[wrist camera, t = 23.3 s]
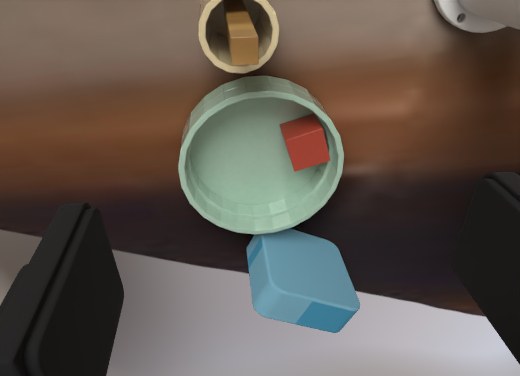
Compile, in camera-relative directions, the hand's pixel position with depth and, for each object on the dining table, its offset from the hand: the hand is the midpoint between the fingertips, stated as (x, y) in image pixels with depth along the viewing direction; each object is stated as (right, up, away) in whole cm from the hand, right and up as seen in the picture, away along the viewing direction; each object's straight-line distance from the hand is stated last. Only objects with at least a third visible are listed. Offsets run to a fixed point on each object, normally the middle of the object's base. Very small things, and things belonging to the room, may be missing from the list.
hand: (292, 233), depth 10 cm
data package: (+3, -6, +44) cm, 44 cm away
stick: (-3, +18, +26) cm, 32 cm away
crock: (-3, +18, +27) cm, 32 cm away
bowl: (-1, +6, +35) cm, 36 cm away
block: (+4, +7, +34) cm, 35 cm away
